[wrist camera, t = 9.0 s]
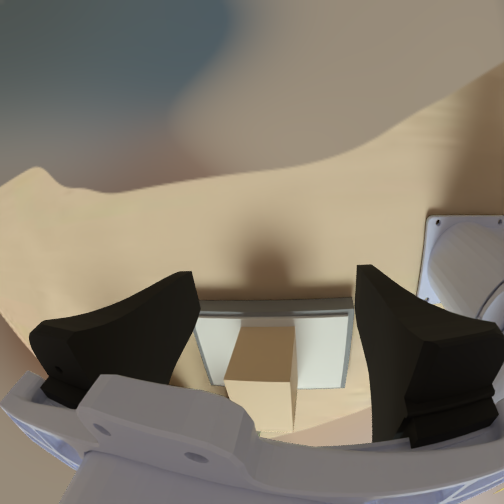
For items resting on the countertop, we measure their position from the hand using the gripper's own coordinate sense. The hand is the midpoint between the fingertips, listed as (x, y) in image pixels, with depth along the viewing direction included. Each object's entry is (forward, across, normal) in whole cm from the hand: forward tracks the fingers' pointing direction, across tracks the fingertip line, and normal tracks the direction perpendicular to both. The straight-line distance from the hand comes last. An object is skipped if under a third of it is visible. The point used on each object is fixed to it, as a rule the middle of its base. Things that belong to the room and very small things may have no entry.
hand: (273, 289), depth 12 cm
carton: (+8, +2, +12) cm, 14 cm away
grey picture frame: (+10, +2, +12) cm, 16 cm away
